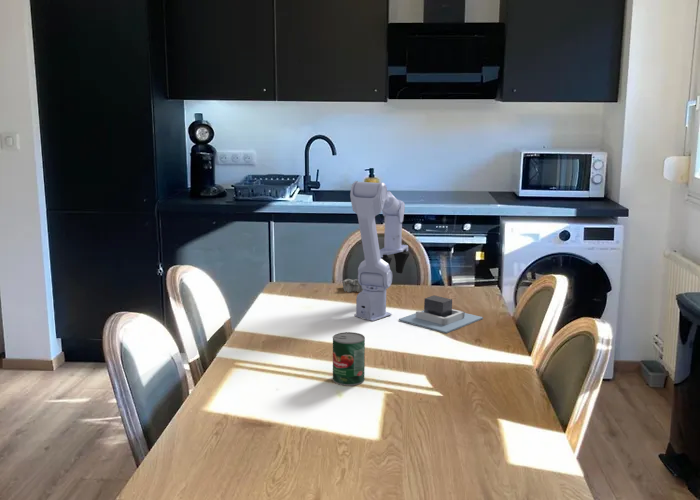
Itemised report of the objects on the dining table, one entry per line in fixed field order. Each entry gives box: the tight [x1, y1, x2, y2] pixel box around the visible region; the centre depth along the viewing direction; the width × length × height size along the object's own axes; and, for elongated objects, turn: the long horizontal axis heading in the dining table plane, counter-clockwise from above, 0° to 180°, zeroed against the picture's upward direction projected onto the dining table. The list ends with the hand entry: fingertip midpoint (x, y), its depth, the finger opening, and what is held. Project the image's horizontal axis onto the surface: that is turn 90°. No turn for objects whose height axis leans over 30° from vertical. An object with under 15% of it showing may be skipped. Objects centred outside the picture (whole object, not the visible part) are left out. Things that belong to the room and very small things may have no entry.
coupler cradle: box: [398, 308, 484, 334], centre depth 226 cm, size 20×18×2 cm
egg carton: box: [342, 278, 363, 293], centre depth 261 cm, size 11×8×4 cm
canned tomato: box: [332, 331, 366, 387], centre depth 177 cm, size 8×8×11 cm
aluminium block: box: [423, 295, 453, 317], centre depth 226 cm, size 5×7×6 cm
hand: (392, 274), depth 244 cm, fingers open, 7 cm apart
